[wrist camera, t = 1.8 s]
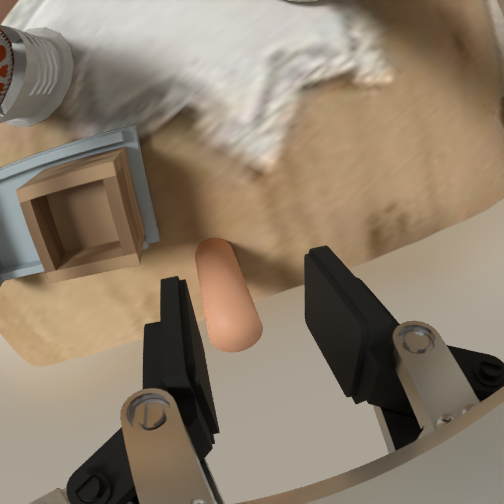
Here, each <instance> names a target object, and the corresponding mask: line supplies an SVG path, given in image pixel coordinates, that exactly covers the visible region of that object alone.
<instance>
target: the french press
mask: <svg viewBox="0 0 504 504" xmlns="http://www.w3.org/2000/svg"><path fill="white" fill-rule="evenodd" d="M73 69H74V62H73V57H72V52H71V47H70V45H69V44H68V43H67V42H66V40H65V39H64V38H63V36H62V35H61V34H60V33H58V32H56V31H53V30H51V29H48V28H46V27H44V28H34V29H28V30H26V31H24V32H23V31H21V30H17V29H15V28H11V27H7V26H2V25H0V123H2V122H6V123H8V124H10V125H12V126H14V127H25V126H32V125H34V124H36V123H38V122H40V121H43V120H45V119H47V118H48V117H49V116H50V115H51V114H52V113H53V112H54V111H55V110H56V109H57V108H58V107H59V106H60V105H61V103H62V101H63V99H64V97H65V95H66V93H67V91H68V89H69V88H70V86H71V80H72V74H73Z"/></svg>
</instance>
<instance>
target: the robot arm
mask: <svg viewBox="0 0 504 504" xmlns="http://www.w3.org/2000/svg"><path fill="white" fill-rule="evenodd" d="M288 1H296V2H313V1H318V0H288ZM304 268H305V321H306V324H307V326H308V328H309V330H310V332H311V334H312V336H313V337H314V339H315V341H316V343H317V345H318V347H319V348H320V350H321V352H322V354H323V356H324V357H325V359H326V361H327V363H328V365H329V367H330V368H331V370H332V372H333V374H334V375H335V377H336V379H337V381H338V383H339V385H340V387H341V388H342V390H343V392H344V394H345V395H346V397H352V398H353V400H354V402H355V404H358V403H361V402H363V401H366V400H367V402H368V404H372V405H373V406H374V410H375V413H376V416H377V419H378V422H379V425H380V428H381V431H382V434H383V436H384V440H385V443H386V446H387V449H388V452H389V454H388V455H386V456H384V457H381V458H379V459H377V460H375V461H372V462H370V463H368V464H365V465H363V466H360V467H358V468H356V469H353V470H350V471H348V472H345V473H343V474H340V475H338V476H334V477H332V478H329V479H326V480H323V481H320V482H317V483H314V484H311V485H308V486H305V487H301V488H298V489H294V490H291V491H288V492H284V493H280V494H276V495H272V496H268V497H264V498H260V499H256V500H252V501H247V502H242V503H237V504H504V363H503V362H502V361H501V360H500V359H498V358H497V357H495V356H491V355H489V354H484V353H479V352H474V351H470V350H466V349H461V348H457V347H452V346H448V345H446V344H445V342H444V341H443V340H442V338H441V336H440V335H439V333H438V332H437V331H436V330H435V329H434V328H433V327H432V326H430V325H429V324H426V323H423V322H419V321H407V322H405V323H402V324H399V323H398V322H397V321H396V319H395V318H394V317H393V316H392V315H391V314H390V312H389V311H388V310H387V309H386V308H385V306H384V305H383V304H382V303H381V302H380V301H379V300H378V298H377V297H376V296H375V295H374V294H373V293H372V292H371V290H370V289H369V288H368V287H367V286H366V285H365V284H364V283H363V281H362V280H360V279H359V278H356V277H355V276H354V275H353V274H352V273H351V272H350V270H349V269H348V268H347V267H346V266H345V265H344V264H343V262H342V261H341V260H340V259H339V258H338V257H337V256H336V255H335V254H334V253H333V251H332V250H331V249H330V248H329V247H328V246H321V247H317V248H312V249H310V250H309V254H305V257H304ZM160 318H161V321H160V322H155V323H149V324H145V327H144V347H143V390H140V391H138V392H136V393H134V394H133V395H132V396H130V397H129V398H128V399H127V400H126V401H125V403H124V404H123V406H122V409H121V417H120V418H121V424H122V427H121V428H120V429H119V430H118V431H117V432H116V433H115V434H114V435H113V436H112V437H111V438H110V439H109V440H108V441H107V442H106V443H105V444H104V445H103V446H102V447H100V448H99V449H98V451H96V452H95V453H94V454H93V455H92V456H91V457H90V458H89V459H88V460H87V461H86V462H85V463H84V464H82V466H80V467H79V468H78V469H77V470H76V471H75V472H74V473H73V474H72V476H71V477H70V478H69V481H68V483H67V487H66V488H65V489H63V490H61V489H60V488H57V489H55V490H53V491H52V492H50V493H48V494H46V495H44V496H42V497H41V498H39V499H37V500H35V501H33V502H31V503H29V504H225V502H224V500H223V498H222V496H221V494H220V491H219V489H218V487H217V485H216V482H215V481H214V478H213V475H212V473H211V471H210V468H209V466H208V463H207V461H206V459H205V457H206V456H207V454H208V453H209V452H210V451H211V450H212V444H215V440H214V435H213V434H216V433H219V427H218V422H217V417H216V412H215V407H214V402H213V397H212V391H211V386H210V382H209V375H208V370H207V364H206V359H205V353H204V348H203V343H202V339H201V336H200V332H199V329H198V325H197V321H196V317H195V314H194V310H193V306H192V302H191V299H190V295H189V291H188V287H187V283H186V280H185V279H184V280H179V278H178V276H175V277H170V278H165V279H161V298H160Z"/></svg>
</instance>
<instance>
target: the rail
mask: <svg viewBox="0 0 504 504" xmlns="http://www.w3.org/2000/svg"><path fill="white" fill-rule="evenodd" d="M125 146H126V149H127V154H128V159H129V164H130V169H131V173H132V178H133V182H134V187H135V191H136V196H137V200H138V204H139V208H140V212H141V216H142V220H143V224H144V228H145V235H144V241H143V248H142V250H144V249H148V246H149V244H150V243H155V242H159V237H160V234H159V230H158V226H157V222H156V218H155V213H154V209H153V205H152V200H151V196H150V191H149V187H148V182H147V177H146V172H145V167H144V162H143V157H142V152H141V147H140V141H139V136H138V130H137V125H133V126H129V127H125V128H120V129H116V130H112V131H109V132H105V133H101V134H97V135H94V136H90V137H87V138H83V139H80V140H76V141H73V142H70V143H67V144H63V145H60V146H57V147H54V148H51V149H48V150H45V151H42V152H39V153H37V154H34V155H31V156H28V157H26V158H23V159H20V160H18V161H15V162H12V163H10V164H7V165H5V166H2V167H0V286H1V285H2V283H3V282H4V281H5V280H9V279H13V278H18V277H22V276H26V275H30V274H35V273H39V272H43V271H45V270H44V268H43V266H42V263H41V261H40V258H39V256H38V253H37V251H36V248H35V246H34V243H33V241H32V238H31V235H30V232H29V230H28V227H27V224H26V221H25V218H24V215H23V212H22V209H21V206H20V203H19V200H18V197H17V193H16V190H17V189H18V188H20V187H21V186H22V185H23V184H25V183H26V182H27V181H29V180H30V179H32V178H33V177H34V176H36V175H37V174H38V173H40V172H41V171H43V170H44V169H47V168H50V167H53V166H56V165H59V164H63V163H66V162H69V161H73V160H76V159H79V158H83V157H86V156H90V155H94V154H97V153H101V152H105V151H109V150H113V149H117V148H121V147H125Z"/></svg>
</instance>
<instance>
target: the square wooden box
mask: <svg viewBox="0 0 504 504" xmlns="http://www.w3.org/2000/svg"><path fill="white" fill-rule="evenodd" d="M16 193H17V197H18V200H19V203H20V206H21V209H22V212H23V215H24V218H25V221H26V224H27V227H28V230H29V232H30V235H31V238H32V241H33V243H34V246H35V248H36V251H37V253H38V256H39V258H40V261H41V263H42V266H43V268H44V270H45V273H46V275H47V277H48V280H49V282H50V283H55V282H60V281H64V280H69V279H74V278H78V277H83V276H88V275H93V274H98V273H102V272H107V271H112V270H117V269H122V268H126V267H131V266H136V265H140V262H141V255H142V248H143V241H144V235H145V228H144V224H143V220H142V216H141V212H140V208H139V204H138V200H137V196H136V191H135V187H134V182H133V178H132V173H131V169H130V164H129V159H128V154H127V149H126V146H125V147H121V148H117V149H113V150H109V151H105V152H101V153H97V154H94V155H90V156H86V157H83V158H79V159H76V160H73V161H69V162H66V163H63V164H59V165H56V166H53V167H50V168H47V169H44V170H43V171H41V172H40V173H38V174H37V175H36V176H34V177H33V178H32V179H30V180H29V181H27V182H26V183H25V184H23V185H22V186H21V187H20V188H18V189H17V190H16Z"/></svg>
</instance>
